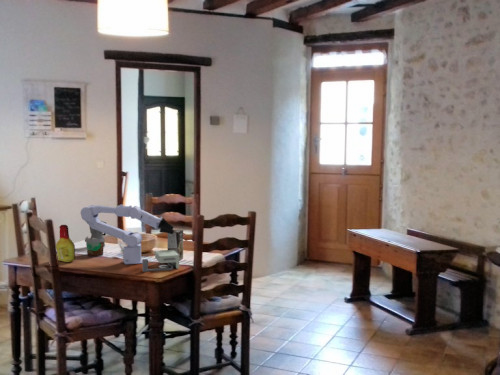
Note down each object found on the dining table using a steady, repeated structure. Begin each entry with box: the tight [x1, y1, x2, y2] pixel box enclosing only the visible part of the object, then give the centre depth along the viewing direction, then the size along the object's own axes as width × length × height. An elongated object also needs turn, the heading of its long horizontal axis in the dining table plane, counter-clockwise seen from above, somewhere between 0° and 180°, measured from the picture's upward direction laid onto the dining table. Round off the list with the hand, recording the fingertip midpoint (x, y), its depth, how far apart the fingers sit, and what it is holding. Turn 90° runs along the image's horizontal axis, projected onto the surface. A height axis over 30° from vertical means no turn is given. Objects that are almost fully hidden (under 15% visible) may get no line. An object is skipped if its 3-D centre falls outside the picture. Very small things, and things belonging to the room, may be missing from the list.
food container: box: [84, 236, 106, 257], centre depth 321 cm, size 12×6×10 cm, turn 68°
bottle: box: [55, 224, 76, 263], centre depth 305 cm, size 12×6×20 cm, turn 60°
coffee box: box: [167, 229, 184, 262], centre depth 312 cm, size 9×6×16 cm
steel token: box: [158, 264, 170, 269], centre depth 296 cm, size 5×5×1 cm
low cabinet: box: [154, 249, 180, 269], centre depth 298 cm, size 10×15×7 cm
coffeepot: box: [88, 220, 108, 247], centre depth 345 cm, size 15×9×18 cm, turn 59°
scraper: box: [142, 258, 174, 273], centre depth 293 cm, size 15×11×6 cm
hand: (173, 230), depth 302 cm, fingers open, 7 cm apart
